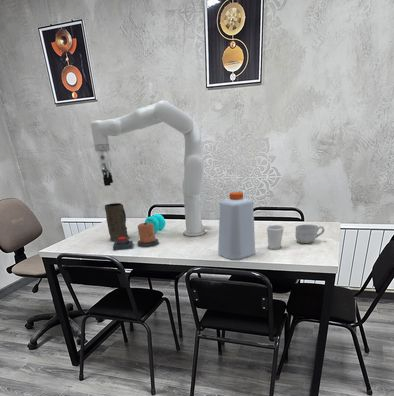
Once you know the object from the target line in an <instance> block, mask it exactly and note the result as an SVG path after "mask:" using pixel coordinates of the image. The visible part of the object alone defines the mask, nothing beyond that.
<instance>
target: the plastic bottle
mask: <svg viewBox="0 0 394 396" xmlns="http://www.w3.org/2000/svg"><path fill="white" fill-rule="evenodd" d="M254 215H255V213H254V201H253V199H251V198H247V197H244V193H243V192H241V191H232V192H230V193H229V197H228V198H225V199H222V200H220V202H219V215H218V216H219V218H218V244H217V245H218V246H217V249H218V250H217V252H218V255H220V256H221V257H224V258H227V259H229V260H233V261H235V260H236V261H237V260H241V259H245V258H248V257H252V256H253V255H255V254H256V235H255V234H256V233H255V216H254Z"/></svg>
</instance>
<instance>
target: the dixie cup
mask: <svg viewBox="0 0 394 396" xmlns="http://www.w3.org/2000/svg"><path fill="white" fill-rule="evenodd" d="M284 229H285V227H284V226H283V225H281V224H277V225H276V224H273V225H268V226H266V232H267V233H266V235H267V246H268V249H269V250H279V249H281V245H282V239H283V234H284Z"/></svg>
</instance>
